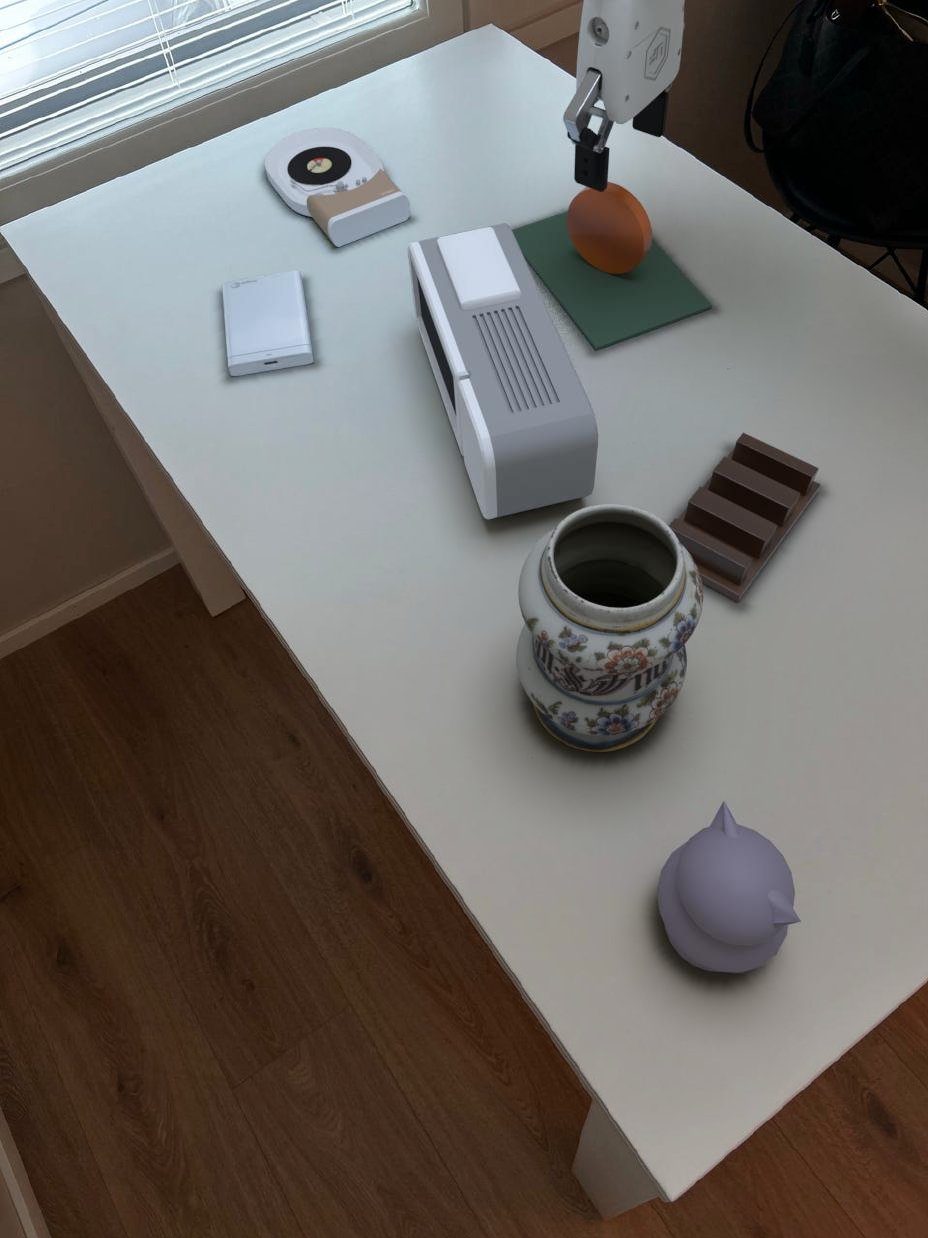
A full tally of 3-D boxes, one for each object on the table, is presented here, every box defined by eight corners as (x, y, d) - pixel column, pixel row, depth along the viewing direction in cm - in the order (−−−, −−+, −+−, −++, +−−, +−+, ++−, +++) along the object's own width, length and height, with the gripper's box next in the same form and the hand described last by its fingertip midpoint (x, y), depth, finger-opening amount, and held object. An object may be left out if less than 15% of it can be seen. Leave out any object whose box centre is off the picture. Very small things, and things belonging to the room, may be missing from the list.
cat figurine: (626, 890, 66) (645, 829, 56) (724, 841, 67) (760, 773, 57) (694, 1010, 61) (728, 968, 51) (797, 955, 63) (850, 904, 53)
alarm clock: (416, 328, 96) (403, 224, 86) (505, 308, 97) (504, 203, 87) (487, 539, 82) (483, 444, 72) (592, 514, 83) (601, 417, 73)
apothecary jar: (664, 623, 77) (699, 475, 62) (686, 763, 70) (731, 636, 55) (513, 629, 77) (510, 484, 62) (520, 770, 71) (520, 646, 56)
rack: (734, 451, 86) (742, 423, 83) (818, 491, 83) (829, 464, 80) (651, 556, 80) (656, 530, 77) (737, 602, 77) (746, 578, 74)
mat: (711, 308, 96) (712, 305, 95) (595, 350, 93) (596, 347, 93) (613, 198, 106) (613, 195, 105) (506, 234, 103) (506, 231, 103)
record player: (319, 227, 101) (246, 136, 110) (324, 252, 103) (252, 162, 113) (417, 188, 103) (337, 103, 113) (420, 214, 106) (341, 129, 116)
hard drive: (220, 281, 99) (226, 364, 93) (299, 268, 100) (311, 350, 93) (225, 294, 101) (231, 377, 94) (302, 282, 101) (314, 363, 94)
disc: (573, 247, 101) (577, 168, 93) (647, 278, 98) (657, 199, 90) (565, 255, 100) (568, 176, 93) (639, 287, 97) (649, 207, 90)
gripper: (615, 13, 70) (602, 221, 84) (733, -85, 76) (703, 123, 91) (530, -12, 72) (532, 194, 87) (651, -105, 79) (635, 101, 94)
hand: (619, 158), depth 89 cm, fingers open, 9 cm apart
